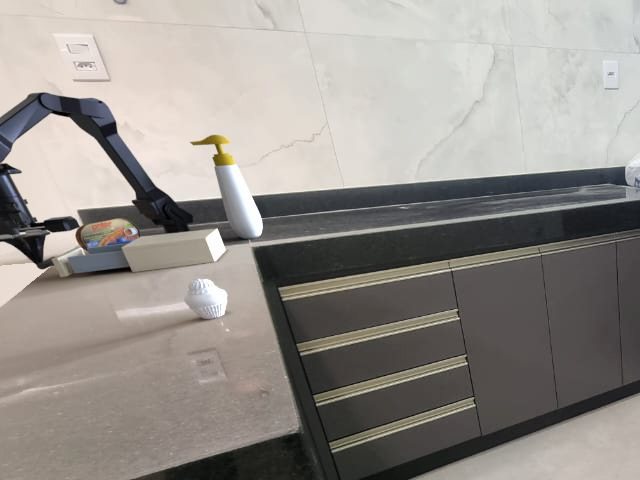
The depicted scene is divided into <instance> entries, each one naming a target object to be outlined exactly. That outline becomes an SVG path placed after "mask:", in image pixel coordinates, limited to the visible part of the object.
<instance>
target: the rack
mask: <svg viewBox="0 0 640 480" xmlns="http://www.w3.org/2000/svg"><path fill="white" fill-rule="evenodd" d="M127 244H129V243H126V244H117V245H107V246H98V247H89V248H87V250H88V251H87V252H88V254H85V250H84V249H83V248H82V247H81V246H79V247H74V248H72V249H70V250H68V251H65V252H63V253H62V254H59V255H57V256H51V257H48V258H46V259H43V261H42V262H40V263H38V264H37V265H36V268H37V269H38V270H46V269H48V268H50V267H54V268H55V269H56V271H57V273H58V275H59V277H60V278H65V277H68V276H70V275H72V274H74V273H75V274H81V273H90V272H97V271H106V270H114V269H122V268H129V267H130V266H129V263H128V261H127V259H126V257H125V255H124V253H123V250H122V248H121V247H123V246H125V245H127Z"/></svg>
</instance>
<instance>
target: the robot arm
mask: <svg viewBox="0 0 640 480" xmlns="http://www.w3.org/2000/svg"><path fill="white" fill-rule="evenodd" d="M51 114H52V115H56V116H58V117H65V118H68V119H70V120H71V121H72V122H74V124H76V126H77V127H79V128H80V129H81V130H82V131H84V132H85V133H87V134H88V135H89V136H91V137H92V138H93V139H94V140H95V141H96V142H97V143H98V145H99V146H100V147H101V149H102V150H103V151H104V153H105V154H106V155H107V157H108V158H109V159H110V160H111V162H112V164H114V166H115V167H116V169H117V170H118V171H119V172H120V175H122V177H123V178H124V179H125V180H126V182H127V183H128V184H129V186H130V187H131V188H132V190H133V191H134V193H135V194H134V195H135V199H132V200H131V203H132V204H133V206H134V207H136V209H137V210H138V212H139V215H143V216H144V217H145V218H146V219H149V220H150V221H151V222H152V223H153V225H155V226H162V229H163V232H164V234H170V233H179V232H189V231H191V229H190V227H189V224H192V223H194V216H193V214H191V213H190V212H188V211H187V210H184V209H183V208H181V207H180V206H179V204H178V203H177V202H176V201H175V200H174V199H173V197H171V196H170V195H169V194H168V193H166V192H165V191H164V190H162V189H161V188H159V187H158V186H157V185H156V184H155V183H154V181H153V180H152V179H151V177H150V176H149V174H148V173H147V172H146V170H145V169H144V168H143V166H142V165H141V163H140V162H139V160H138V159H137V157H136V156H135V155H134V154H133V152H132V151H131V149H130V148H129V147H128V146H127V143H125V141H124V140H123V139H122V137H121V136H120V134H119V133H118V125H117V120H116V118H115V117H114V114H113V113H112V111H111V109H110V107H109V106H108V104H106V102H104V101H102V100H100V99H98V98H94V97H81V98H79V97H71V96H64V95H58V94H55V93H49V92H47V91H46V92H45V91H44V92H43V91H42V92H32V93H29V94H28V95H27V96H26V98H24V99H23V100H21V101H20V102H19V103H17V104H16V105H15V106H13V107H12V108H11V109H10V110H7V112H5V113H4V114H2V115H1V116H0V243H6V244H8V245H10V246H12V247H14V248H15V249H16V250H18V251H19V252H21V254H22V255H24V256H25V257H26V258H28V259H29V260H30V261H31V262H32V263H33V264H34V265H36V266H37V264H38V263H40V262H42V261H44V250H45V242H46V237H47V236H49V235H51V233H52V234H53V233H63V232H64V233H65V232H70V231H74V230H77V229H78V228H79V227H81V225H80V224H79V221H78V220H77V219H76V218H75V217H73V216H71V215H67V216H66V215H65V216H56V217H51V218H48V219H44V220H43V221H40V222H39V221H38V218H37V216H33V214H32V213H31V211H30V209H29V207H28V204H29V202H28V200H27V199H26V198H23V196H22V194H21V193H20V191H19V188H18V187H17V185H16V183H15V181H14V180H13V178H12V176H11V175H18V174H22V173H23V171H22V170H21V169H20V168H19V169H18V168H16V167H14V166H12V165H10V164H9V163H6V162H4V161H5V159H6V158H7V157H8V156H9V155H10V153H11V152H12V149H13V146H14V144H15V142H16V141H17V140H18V139H20V137H23V135H25V134H26V133H27V132H28V131H30V130H31V129H33V128H34V127H35V126H36V125H38V124H40V122H41V121H43V120H45V118H47V117H49V115H51ZM21 233H22V234H21Z"/></svg>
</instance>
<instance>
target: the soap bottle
mask: <svg viewBox="0 0 640 480" xmlns="http://www.w3.org/2000/svg"><path fill="white" fill-rule="evenodd" d="M189 143H190V144H191V145H192V146H208V145H209V146H210V145H214V147H215V149H216V152H217V153H214V154H213V156H212V157H211V158H212V160H213V164H214V167H213V169H214V173H215V177H216V180H217V184H218V188H219V191H220V196H221V199H222V203H223V207H224V211H225V216H226V219H227V221H228V224H229V227H231V229H232V230H233V232H234V233H235V234H236V235H237V236H238V237H240V238H241V239H243V240H244V239H245V240H251V239H252V240H253V239H256V238H259V237H260V236H261V235H262V233H263V219H262V216H261V213H260V211H259V209H258V206H257V205H256V203H255V200H254V198H253V196H252V194H251V191H250V190H249V187H248V185H247V183H246V182H245V179H244V177H243V175H242V173H241V171H240V168H239V167H238V165H237V164H236V162H235V160H234V157H233V155H230V153H225V151H224V149H223V146H222V145H225V144H231V143H232V142H231V140H230V139H228V138H227V137H225V136H223V135H219V134H210V135H209V136H206V137H205V138H204V139H202V140H196V141H189Z"/></svg>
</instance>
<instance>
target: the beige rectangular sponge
mask: <svg viewBox="0 0 640 480" xmlns="http://www.w3.org/2000/svg"><path fill="white" fill-rule="evenodd" d="M121 248H122V250H123V253H124V255H125V257H126V259H127V261H128V263H129V266H130V270H131V272H132V273H137V272H146V271H153V270H162V269H171V268H179V267H186V266H194V265H201V264H209V263H215V262H217V260H218V259H219V258H220V257H221V256H222V255H223V254H224V253H225V252H226V248H225V245H224V242H223V239H222V236H221V235H220V232H219V229H218V228H210V229H209V228H208V229H199V230H198V229H197V230H190V231H189V232H179V233H170V234H165V233H162V234H161V233H160V234H153V235H152V234H151V235H141V237H139V238H138V239H136V240H134V241H132V242H130V243H129V244H127V245H125V246H123V247H121Z"/></svg>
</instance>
